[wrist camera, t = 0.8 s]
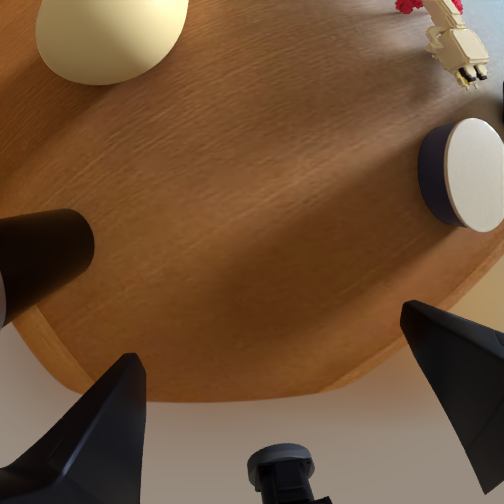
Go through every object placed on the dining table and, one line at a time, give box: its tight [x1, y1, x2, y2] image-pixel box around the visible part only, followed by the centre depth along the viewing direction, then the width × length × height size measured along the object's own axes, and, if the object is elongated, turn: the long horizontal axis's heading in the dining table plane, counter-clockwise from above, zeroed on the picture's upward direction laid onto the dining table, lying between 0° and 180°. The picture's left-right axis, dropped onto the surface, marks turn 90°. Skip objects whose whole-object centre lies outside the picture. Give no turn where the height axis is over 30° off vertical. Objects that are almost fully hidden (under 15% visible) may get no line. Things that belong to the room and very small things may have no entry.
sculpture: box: [35, 0, 189, 85], centre depth 13 cm, size 12×12×11 cm
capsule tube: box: [0, 208, 94, 329], centre depth 15 cm, size 6×6×13 cm
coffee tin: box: [418, 118, 504, 232], centre depth 22 cm, size 10×10×4 cm
